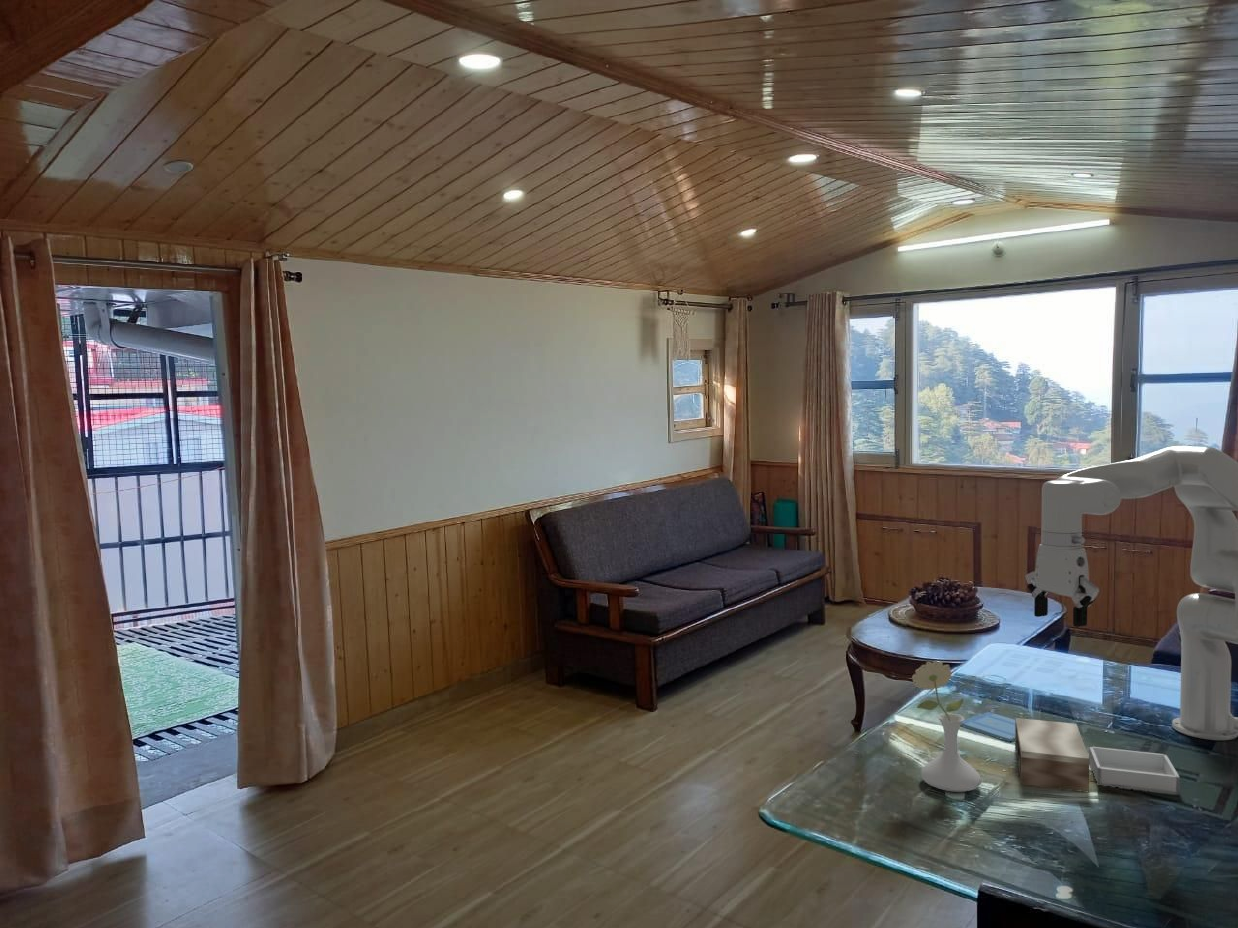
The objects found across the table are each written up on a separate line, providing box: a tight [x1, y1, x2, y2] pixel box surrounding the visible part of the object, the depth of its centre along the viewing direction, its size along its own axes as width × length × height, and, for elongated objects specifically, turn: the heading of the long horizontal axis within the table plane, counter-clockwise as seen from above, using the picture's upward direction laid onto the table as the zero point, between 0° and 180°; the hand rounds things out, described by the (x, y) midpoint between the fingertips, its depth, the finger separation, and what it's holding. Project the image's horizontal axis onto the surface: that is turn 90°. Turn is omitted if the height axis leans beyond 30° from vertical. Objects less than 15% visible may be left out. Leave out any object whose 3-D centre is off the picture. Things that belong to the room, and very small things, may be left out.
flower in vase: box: [911, 660, 982, 793], centre depth 175 cm, size 13×11×25 cm
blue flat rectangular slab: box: [960, 711, 1015, 742], centre depth 206 cm, size 14×12×1 cm
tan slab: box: [1014, 717, 1090, 793], centre depth 182 cm, size 12×20×7 cm, turn 159°
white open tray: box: [1088, 745, 1181, 796], centre depth 177 cm, size 14×12×4 cm
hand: (1060, 620), depth 184 cm, fingers open, 9 cm apart
